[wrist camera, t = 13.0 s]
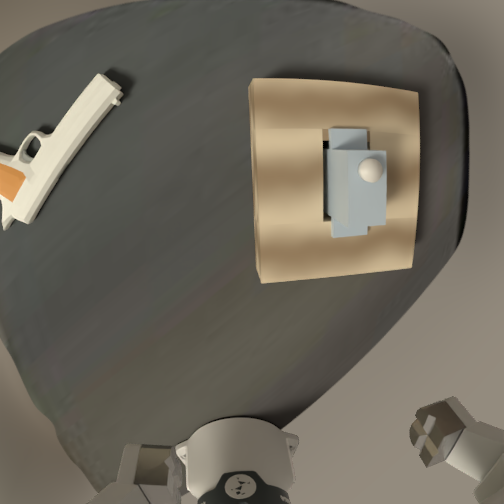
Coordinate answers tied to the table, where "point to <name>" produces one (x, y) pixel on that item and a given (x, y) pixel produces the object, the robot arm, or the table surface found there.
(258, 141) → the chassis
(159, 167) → the table surface
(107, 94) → the pistol
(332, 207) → the block
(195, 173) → the table surface
